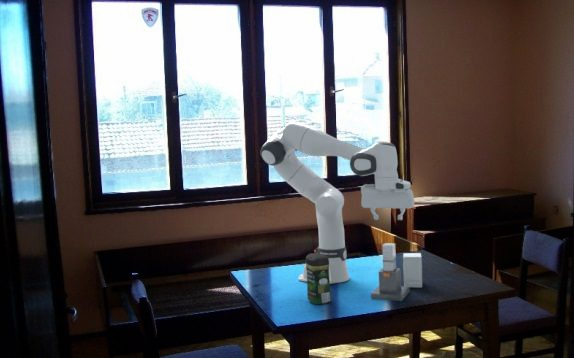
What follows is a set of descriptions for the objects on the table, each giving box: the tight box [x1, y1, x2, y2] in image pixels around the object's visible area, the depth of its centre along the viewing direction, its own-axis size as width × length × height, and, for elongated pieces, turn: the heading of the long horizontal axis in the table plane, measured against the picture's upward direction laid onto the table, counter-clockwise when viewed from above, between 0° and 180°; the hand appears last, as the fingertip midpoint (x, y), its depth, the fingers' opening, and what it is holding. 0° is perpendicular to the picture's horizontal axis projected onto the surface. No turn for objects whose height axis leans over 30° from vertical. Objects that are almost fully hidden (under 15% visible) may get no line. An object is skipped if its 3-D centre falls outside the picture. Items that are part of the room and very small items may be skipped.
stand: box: [370, 267, 411, 302], centre depth 233 cm, size 12×12×10 cm
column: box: [381, 242, 397, 272], centre depth 233 cm, size 4×4×18 cm
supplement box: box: [402, 252, 423, 288], centre depth 245 cm, size 7×7×13 cm
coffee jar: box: [305, 252, 332, 305], centre depth 230 cm, size 10×8×19 cm
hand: (388, 219), depth 231 cm, fingers open, 8 cm apart
